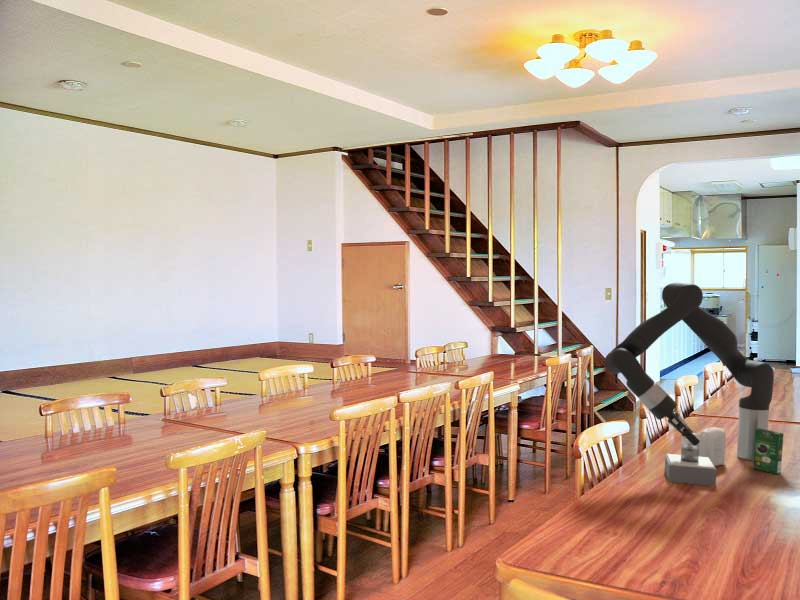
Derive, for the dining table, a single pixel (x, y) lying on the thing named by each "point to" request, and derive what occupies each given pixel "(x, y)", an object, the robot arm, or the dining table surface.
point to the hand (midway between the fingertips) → (695, 440)
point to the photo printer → (713, 445)
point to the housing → (689, 450)
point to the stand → (690, 470)
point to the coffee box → (768, 451)
